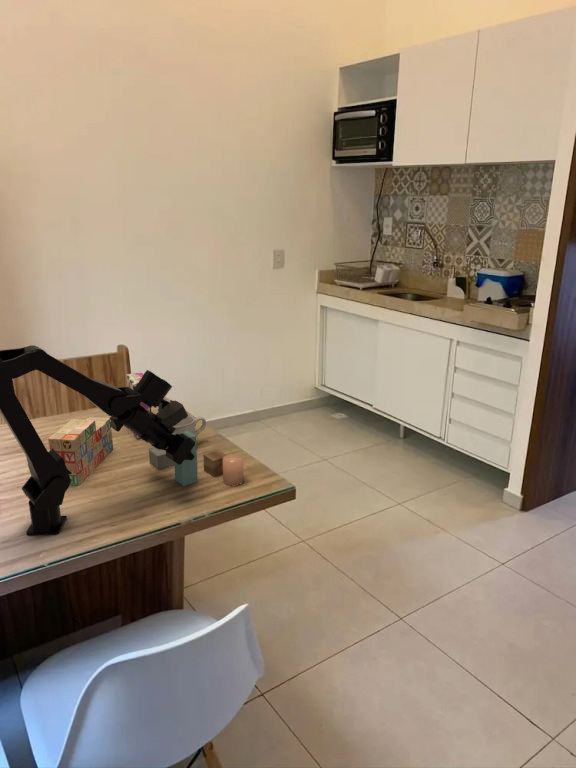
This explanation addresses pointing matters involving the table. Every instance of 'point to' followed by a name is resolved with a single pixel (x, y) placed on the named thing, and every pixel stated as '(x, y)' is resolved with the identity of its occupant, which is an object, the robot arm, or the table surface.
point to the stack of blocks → (83, 446)
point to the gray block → (159, 459)
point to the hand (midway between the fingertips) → (188, 455)
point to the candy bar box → (131, 383)
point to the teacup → (190, 425)
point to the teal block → (187, 466)
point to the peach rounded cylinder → (233, 469)
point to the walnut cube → (214, 463)
